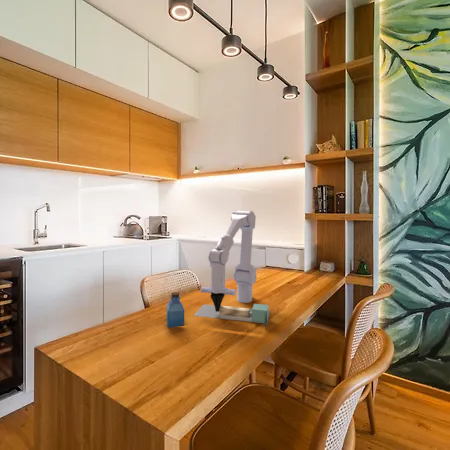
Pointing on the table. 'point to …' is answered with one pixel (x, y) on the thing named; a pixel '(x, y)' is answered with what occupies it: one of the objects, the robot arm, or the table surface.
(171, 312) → the perfume bottle
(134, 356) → the table surface
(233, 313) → the slat
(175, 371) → the table surface
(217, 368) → the table surface
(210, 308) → the board
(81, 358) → the table surface
